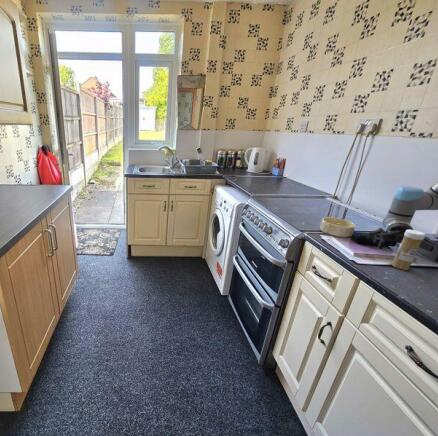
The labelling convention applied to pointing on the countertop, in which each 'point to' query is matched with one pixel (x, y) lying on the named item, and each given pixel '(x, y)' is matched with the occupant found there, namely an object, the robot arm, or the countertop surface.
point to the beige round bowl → (337, 227)
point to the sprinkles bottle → (408, 249)
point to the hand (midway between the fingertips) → (409, 251)
